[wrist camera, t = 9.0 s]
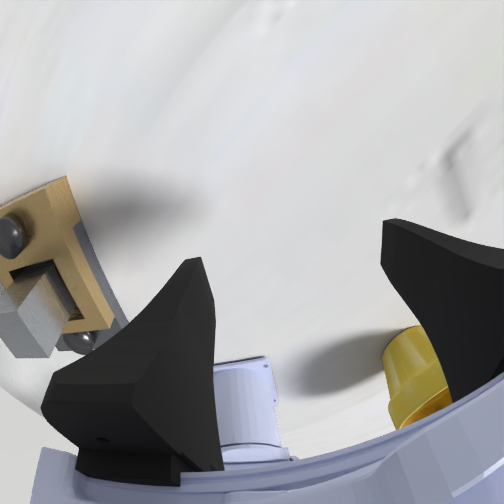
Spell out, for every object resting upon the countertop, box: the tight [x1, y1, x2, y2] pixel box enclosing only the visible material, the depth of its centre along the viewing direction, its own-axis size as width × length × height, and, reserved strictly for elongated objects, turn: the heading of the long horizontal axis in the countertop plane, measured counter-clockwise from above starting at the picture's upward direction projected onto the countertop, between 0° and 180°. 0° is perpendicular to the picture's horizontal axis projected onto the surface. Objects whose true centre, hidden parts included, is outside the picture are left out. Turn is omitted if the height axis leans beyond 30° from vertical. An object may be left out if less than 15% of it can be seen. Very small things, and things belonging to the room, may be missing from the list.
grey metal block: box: [0, 259, 77, 358], centre depth 17 cm, size 4×4×8 cm
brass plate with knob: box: [0, 176, 129, 355], centre depth 19 cm, size 15×9×4 cm, turn 10°
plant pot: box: [382, 326, 453, 430], centre depth 25 cm, size 10×10×10 cm
